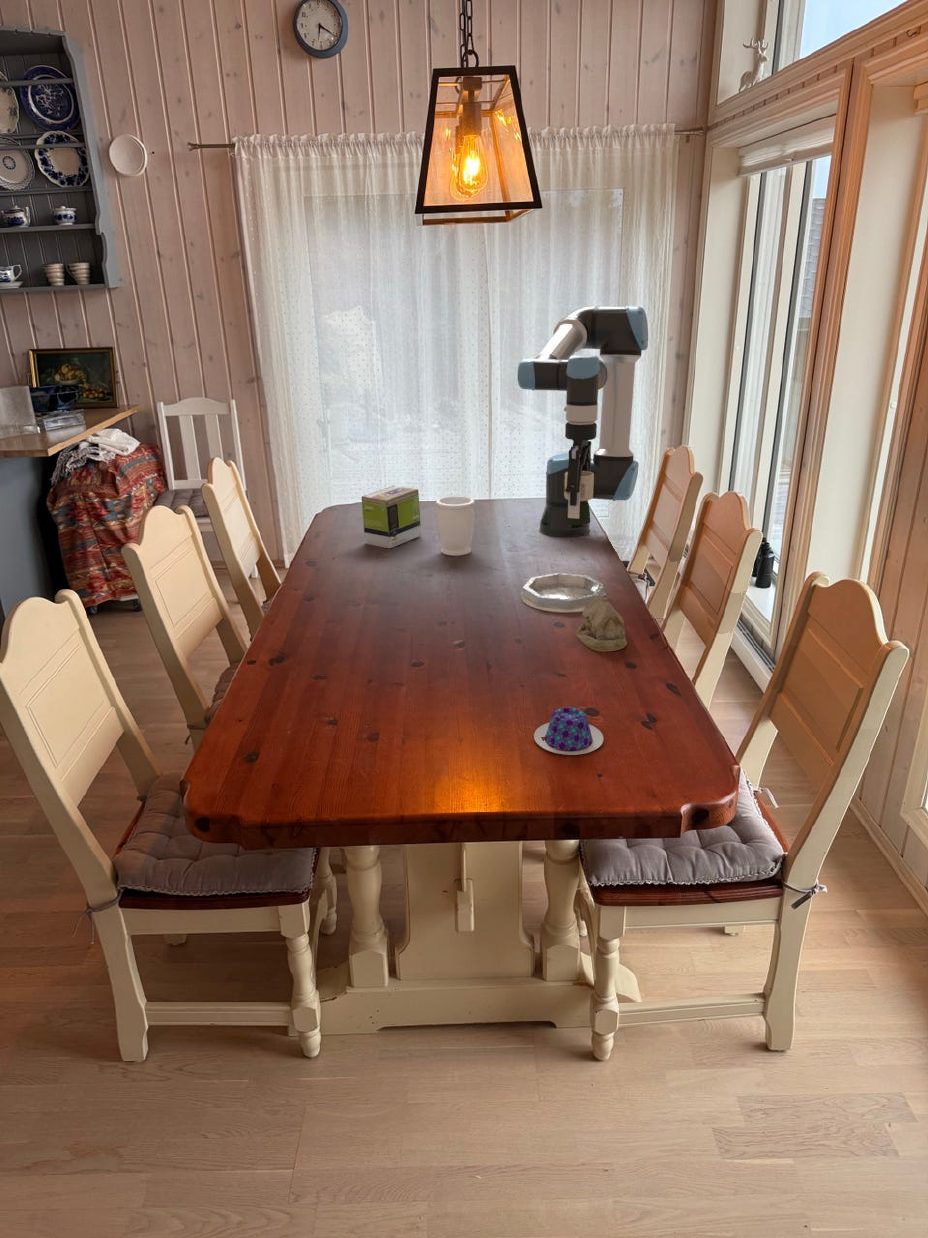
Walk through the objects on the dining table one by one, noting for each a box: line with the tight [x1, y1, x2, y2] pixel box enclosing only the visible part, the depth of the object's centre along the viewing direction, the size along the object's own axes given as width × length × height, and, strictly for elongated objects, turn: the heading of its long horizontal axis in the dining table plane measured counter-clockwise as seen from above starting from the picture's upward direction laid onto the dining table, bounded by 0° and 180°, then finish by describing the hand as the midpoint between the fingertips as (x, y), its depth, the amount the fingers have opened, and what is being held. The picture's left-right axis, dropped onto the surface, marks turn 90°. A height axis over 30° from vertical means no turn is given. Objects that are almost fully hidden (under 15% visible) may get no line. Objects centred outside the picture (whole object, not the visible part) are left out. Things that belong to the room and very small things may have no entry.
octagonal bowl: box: [520, 572, 607, 614], centre depth 218 cm, size 21×21×3 cm
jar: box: [436, 496, 475, 557], centre depth 250 cm, size 11×10×15 cm
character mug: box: [564, 471, 594, 526], centre depth 221 cm, size 11×7×13 cm, turn 12°
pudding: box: [533, 706, 604, 756], centre depth 153 cm, size 12×12×5 cm
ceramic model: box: [575, 594, 628, 653], centre depth 193 cm, size 14×11×10 cm
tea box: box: [361, 485, 422, 549], centre depth 262 cm, size 15×10×15 cm
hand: (577, 513), depth 223 cm, fingers closed on character mug, 9 cm apart
